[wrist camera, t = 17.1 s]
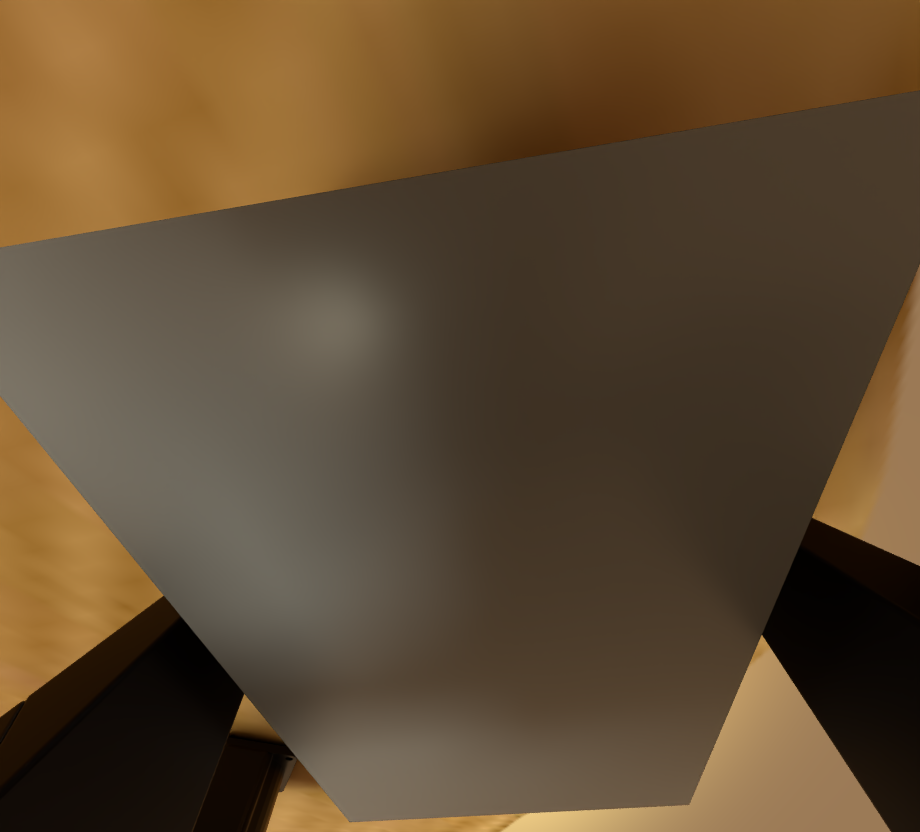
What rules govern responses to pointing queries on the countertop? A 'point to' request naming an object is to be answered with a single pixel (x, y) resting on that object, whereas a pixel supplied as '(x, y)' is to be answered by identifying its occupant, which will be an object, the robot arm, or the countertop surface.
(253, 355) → the gray rectangular prism
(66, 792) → the robot arm
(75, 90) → the countertop surface
